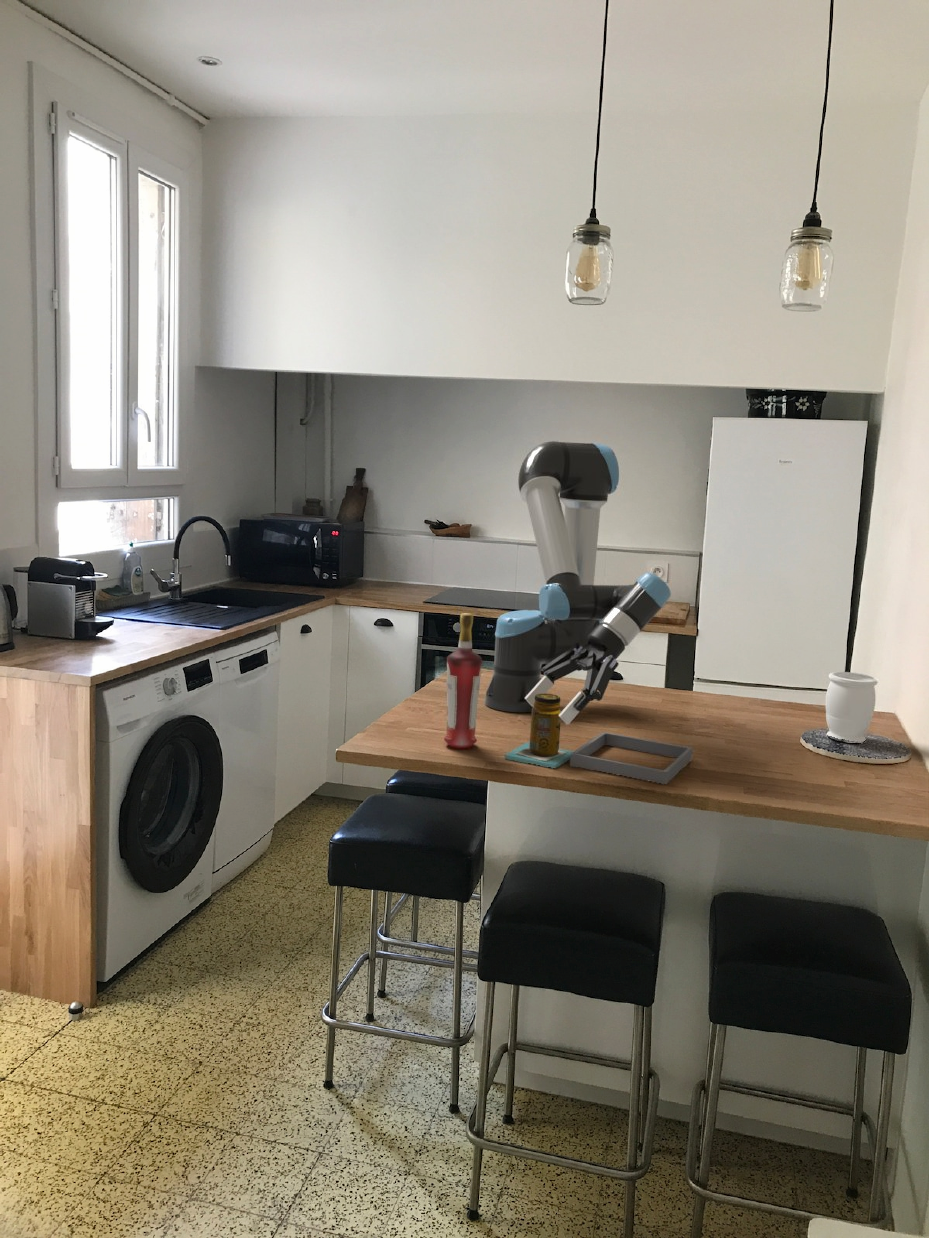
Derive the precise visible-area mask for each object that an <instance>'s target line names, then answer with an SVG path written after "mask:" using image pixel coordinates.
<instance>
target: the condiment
mask: <svg viewBox="0 0 929 1238" xmlns="http://www.w3.org/2000/svg"><path fill="white" fill-rule="evenodd" d="M534 698H535V702H534V707H533V709H532V712H531V716H530V717H531V718H530V733H529V743H530V745H529V747H530V748H527V749H523V750H521V751H517V752H515V753H518V754H520V755H523V756H526V757H531V758H532V759H533V758H534V759H538V760H543V761H547V760H550V759H552V758H554V757H557V756H559V755H562V754H564V753H566V752H565V751H560V750H559V749H560V737H561V722H562V719H561V718H560V717H559V716H558V715H559V714H560V713H561V712H562V710H561V696H559V695H556V694H553V693H546V694H537V695H535V697H534Z"/></svg>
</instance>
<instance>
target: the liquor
mask: <svg viewBox="0 0 929 1238" xmlns="http://www.w3.org/2000/svg"><path fill="white" fill-rule="evenodd" d="M473 624H474V614H473V613H460V615H459V625H460V627H459V628H460V632H459V638H458V639H459V640H458V647H457V650H456V651H453V652H452V653H450V654H449V655H448V656H446V735H445V736H444V739H443V740H444V742H445V743H446V744H447V745H448V746H449V747H450V746H451V747H450V748H452V747H453V748H452V749H455V748H457V750H466V749H470V748H471V747H473V746H474V745H475V744H476V743H477V741H478V740H477V738H476V724H477V713H478V703H479V701H478V700H479V693H480V686H481V676H482V675H481V674H482V666H483V665H482V664H483V658H482V657H481V656H480V655H479V654H478V653H476V652H474V651H473V642H472V641H473V640H472V638H473V637H472V628H473Z"/></svg>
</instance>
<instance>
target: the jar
mask: <svg viewBox="0 0 929 1238" xmlns="http://www.w3.org/2000/svg"><path fill="white" fill-rule="evenodd" d="M828 679H829V680H830V682H829V684H828V685H827V686H828V687H827V690H826V694H825V720H826V724H827V729H829V730H828V731H827V733H826V736H827V735H828V736H832V737H835V738H838V739H845V740H849V741H855V742H857V741H858V742H862V741H865V740H866V741H867V739H866V737H865V734H866V733H867V732H868V729H869V727H870V725H871V722H872V718H873V715H874V711H875V706H876V689H875V686H876V685H878V683H879V679H878V678H877V677H874V676H871V675H869V674H863V673H857V672H850V671H832V672H829V674H828ZM866 741H865V742H866Z"/></svg>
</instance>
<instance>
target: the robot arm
mask: <svg viewBox="0 0 929 1238" xmlns="http://www.w3.org/2000/svg"><path fill="white" fill-rule="evenodd" d="M619 480H620V468H619V461H618V458H617V456H616V454H615V451H614V450H613V449H612V448H611V447H610V446H608V445H606V444H599V443H594V442H593V443H592V442H591V443H587V442H586V443H585V442H570V441H569V442H568V441H567V442H566V441H558V440H557V441H555V440H553V441H547V442H543V443H541V444H538V445H537V446H535V447H534V448H533V449H531V451H530V452H528V454H527V455H526V457H525V458H524V460H523V462H522V463H521V465H520V469H519V473H518V484H517V485H518V489H519V494H520V498H521V499H522V501H524V502H526V505H527V509H528V513H529V519H530V522H531V526H532V531H533V535H534V538H535V543H536V547H537V551H538V556H539V560H540V564H541V568H542V572H543V577H544V582H545V584H544V585H543V586H541V588H540V590H539V593H538V607H539V609H538V610H536V609H535V610H534V609H532V610H529V609H521V610H514V611H513V610H512V611H508V612H505V613H503V614H501V615H500V616H499V617H498V618H497V620H496V627H495V632H494V636H495V640H494V662H493V672H492V673H493V674H492V676H491V679H490V682H489V684H488V687H487V689H486V692H485V695H484V705H486V706H487V707H489V708H491V709H494V710H498V711H502V712H511V713H532V709H533V707H534V702H535V698H534V697H535V695H537V694H548V692H549V690H550V689H551V688H552V687H553V686H554V685H555V682H556V681H557V680H559V679H562V678H564V677H566V676H568V675H570V674H571V673H574V672H576V671H577V672H580V671H583V672H584V671H586V676H585V677H586V678H585V683H584V687H583V688H582V689H581V690H580V691H578V693H577V694H576V695H574V697H573V698H572V699H571V700H570V701H569V703H567V705H566V706H565V707H564V708H563V709H562V710H561V713H560V714H559V715H558V716H559V717H560V718H561V721H563V723H564V724H565V725H567V726H568V725H570V724H571V722H572V721H573V720H574V719H575V717H576V716H577V715H578V714H579V713H580V712H582V711H583V710H584V708H586V706H587V705H588V704H589V703H590V702H592V701H594V700H596V701H598V702H599V701H601V700H602V699H603V697H604V694H605V693H606V690H607V687H608V685H609V684H610V681H611V678H612V676H613V674H614V672H615V671H616V669H617V667H618V666H619V662H618V661H617V659H618V658H619V656H620V655H621V654H622V653H623V652H624V651H625V650H626V647H627V646H629V645H630V644H631V643H632V641H634V639H635V638H636V637H637V636H638V634H639V633H641V631H643V630H644V628H645V627H646V626H647V624H649V622H651V620H652V619H653V618H654V617H655V616H656V615H657V613H659V611H660V610H661V609H663V608H664V606H665V604H666V603H667V602H668V601H669V599H670V598H671V595H672V594H671V589H670V587H669V586H668V585H667V583H666V582H665V581H664V580H663V579H662V578H661V577H659V576H658V575H657V574H654V573H651V572H646V573H643V574H642V575H641V576H640V577H639V578H638V579H636V581H635V582H634V584H628V585H627V584H626V585H623V584H622V585H621V584H620V585H619V584H618V585H615V584H613V585H611V584H610V585H609V584H608V585H607V584H606V585H605V584H604V585H603V584H602V585H601V584H599V585H598V584H595V583H594V582H595V573H596V561H597V552H598V540H599V539H598V538H599V529H600V517H601V516H600V515H601V508H602V507H604V505H605V504H606V503H608V499H609V498H608V497H609V495H611V494H613V493H614V492H616V490H617V489H618V485H619ZM561 502H562V503H563V505H564V510H563V507H562V503H561ZM544 664H545V666H543V667H542V665H544ZM542 673H543V676H542V675H541V674H542ZM541 676H542V677H541Z"/></svg>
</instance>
